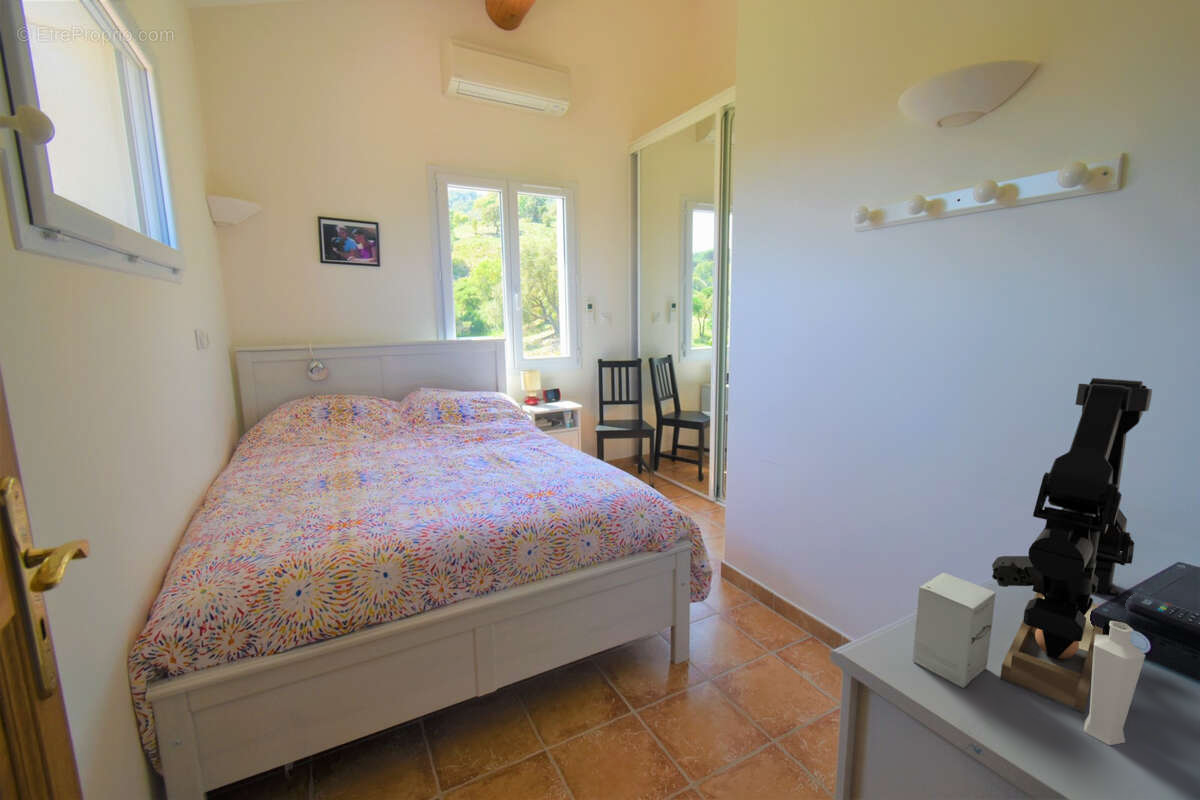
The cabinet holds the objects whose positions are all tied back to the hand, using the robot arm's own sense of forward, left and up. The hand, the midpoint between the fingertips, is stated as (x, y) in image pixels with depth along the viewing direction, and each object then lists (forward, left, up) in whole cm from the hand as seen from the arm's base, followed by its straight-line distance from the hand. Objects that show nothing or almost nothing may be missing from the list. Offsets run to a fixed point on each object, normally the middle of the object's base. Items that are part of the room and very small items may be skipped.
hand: (1055, 648), depth 80 cm
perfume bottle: (+15, +1, -2) cm, 15 cm away
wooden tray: (-2, +1, -1) cm, 3 cm away
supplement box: (+8, -14, -2) cm, 17 cm away
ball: (0, 0, +2) cm, 2 cm away
